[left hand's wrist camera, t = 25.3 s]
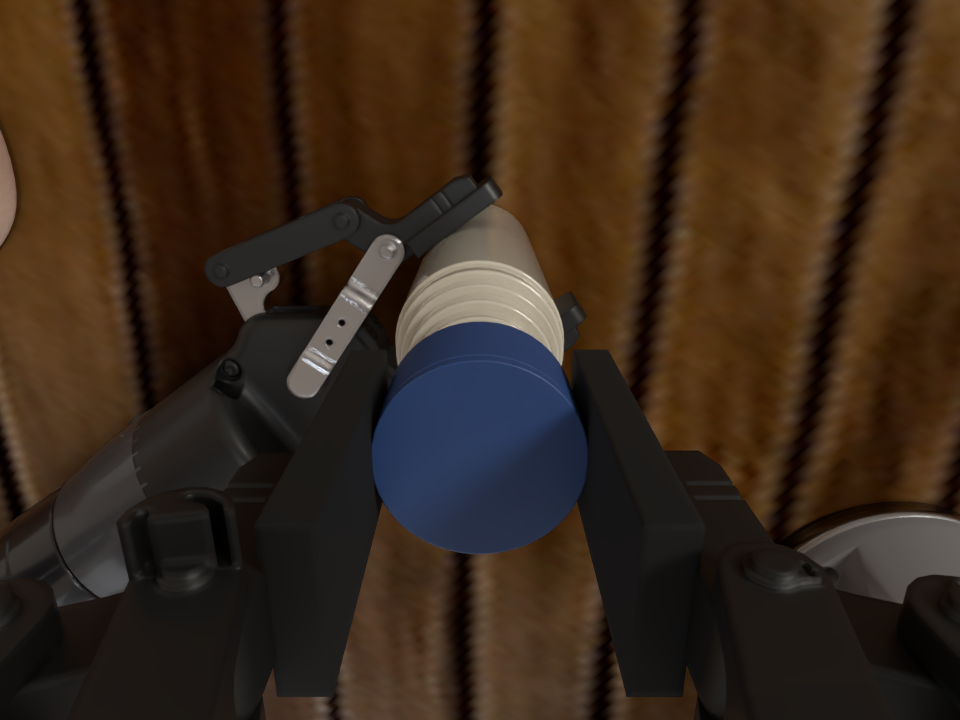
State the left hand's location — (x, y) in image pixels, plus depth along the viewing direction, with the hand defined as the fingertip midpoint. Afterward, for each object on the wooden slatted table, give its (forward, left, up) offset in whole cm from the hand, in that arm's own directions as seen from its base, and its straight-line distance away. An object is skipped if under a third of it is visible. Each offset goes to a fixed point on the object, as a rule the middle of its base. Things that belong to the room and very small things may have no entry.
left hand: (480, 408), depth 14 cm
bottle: (0, 0, -18) cm, 18 cm away
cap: (0, 0, +2) cm, 2 cm away
